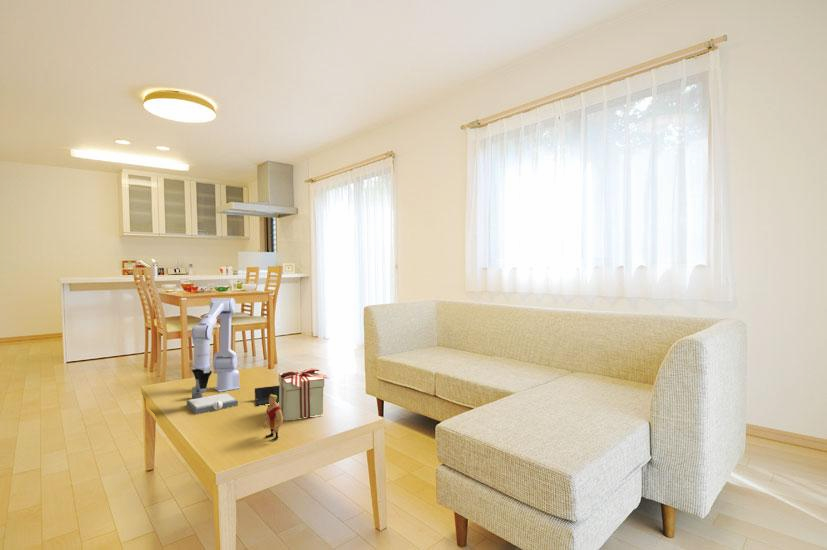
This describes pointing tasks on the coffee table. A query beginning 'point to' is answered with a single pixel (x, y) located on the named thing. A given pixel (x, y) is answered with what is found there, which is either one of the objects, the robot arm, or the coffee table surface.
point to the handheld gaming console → (265, 394)
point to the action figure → (273, 416)
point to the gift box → (301, 394)
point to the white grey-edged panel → (211, 403)
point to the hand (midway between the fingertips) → (201, 387)
